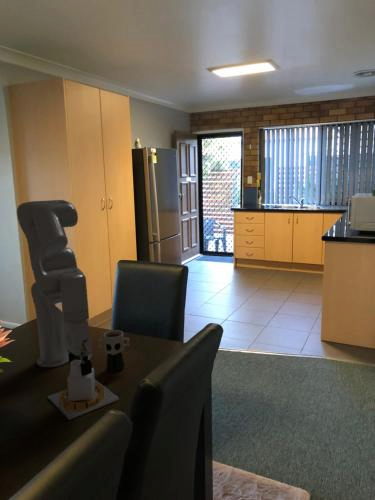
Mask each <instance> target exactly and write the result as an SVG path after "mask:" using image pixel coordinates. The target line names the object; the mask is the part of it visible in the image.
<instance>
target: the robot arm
mask: <svg viewBox="0 0 375 500" xmlns="http://www.w3.org/2000/svg"><path fill="white" fill-rule="evenodd" d="M16 216H17V221H18V223H19V227H20V228H21V230H22V232H23V235H24V236H25V239H26V241H27V249H28V254H29V261H30V266H31V270H32V273H33V277H34V281H35V282H34V283H32V284H31V285H32V286H31V288H30V293H31V298H32V301H33V305H34V308H35V315H36V324H37V334H38V343H39V352H40V353H39V354H40V356H38V358H36V364H37V366H39V367H42V368H55V367H60V366H63V365H65V364H67V363H68V364H69V365H68V366H70V360H71V359H72V358H74V357H77V356H80V359H81V362H82V363H80V365H81V375H82V376H84V375H87V374H90V373H92V368H93V367H92V358H93V349H92V339H91V332H90V326H89V319H90V314H89V312H90V310H89V301H88V300H89V299H88V289H87V288H88V287H87V277H86V275H85V274H84V272H83V271H82V270H81V269H80V268H78V264H77V258H76V255H75V252H74V251H73V249H72V248H70V247H67V246H68V243H69V240H68V237H67V235H66V231H65V228H72V227H75V226H76V225H77V223H79V222H78V221H79V215H78V211H77V209H76V207H75V206H74V204H73V203H72V202H70V201H67V200H64V199H51V200H33V201H26V202H23V203H21V204H19V205H18V206H17V209H16ZM60 303H61V309H60V308H59V307H58V306H56V305H57V304H60ZM83 356H85V357H84V358H83Z"/></svg>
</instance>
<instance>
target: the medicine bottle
mask: <svg viewBox="0 0 375 500" xmlns="http://www.w3.org/2000/svg"><path fill="white" fill-rule="evenodd" d="M85 356H86V355H83V358H84V357H85ZM80 363H82V362H81V359H80V356H77V357H74V358H72V359H71V360H70V365H69V371H70V372H69V373H68V376H67V378H66V386H67V388H68V401H80V400H91V399H92V398H93V394H94V391H95V380H96V378H95V368H94V367H92V373H90V374H87V375H84V376H82V375H81V365H80ZM67 388H66V389H67Z"/></svg>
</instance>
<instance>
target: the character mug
mask: <svg viewBox="0 0 375 500" xmlns="http://www.w3.org/2000/svg"><path fill="white" fill-rule="evenodd" d="M102 337H103V338H101V339H98V340H97V341H98V342H97V343H98V344H97V345H98V348H99V349H104V352H105V353H106V354H107V355H106V356H107V357H106V369H107V370H108V371H111V372H112V371H114V369H115V371H120V370H122V369H124V367H125V362H124V361H125V360H124V356H123V353H122V352H123V351H125V347H130V337H124V332H123V331H122V330H118V329H117V330H110V331H109V330H108V331H105V332H104V333H103V334H102ZM125 341H126V343H125ZM102 343H103V344H102Z"/></svg>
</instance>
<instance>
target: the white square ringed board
mask: <svg viewBox="0 0 375 500" xmlns="http://www.w3.org/2000/svg"><path fill="white" fill-rule="evenodd" d="M47 397H48V398H47V399H48V400H49V401H50V402H51V404H53V405H54V407H56V408H57V409H58V411H60V412H61V413H62V415H63V416H64V417H66V418H67V420H68V421H70V420H72V419H75V418H78V417H80V416H83V415H85V414H88V413H90V412H92V411H95V410H98V409H101V408H102V407H105V406H107V405H110V404H112V403H115V402H117V401H119V400H120V399H119V396H118V395H116V394H115V393H113V392H112V391H111V390H110V389H108V388H107V387H106V386H105V385H103V384H102V383H100V381H98V380H97V379H95V391H94V394H93V398H92V399H91V400H80V401H68V388H66V389H63V390H60V391H57V392H55V393H52V394H50V395H47Z"/></svg>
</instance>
